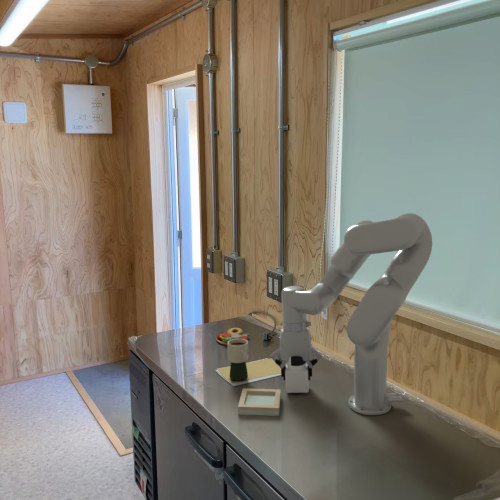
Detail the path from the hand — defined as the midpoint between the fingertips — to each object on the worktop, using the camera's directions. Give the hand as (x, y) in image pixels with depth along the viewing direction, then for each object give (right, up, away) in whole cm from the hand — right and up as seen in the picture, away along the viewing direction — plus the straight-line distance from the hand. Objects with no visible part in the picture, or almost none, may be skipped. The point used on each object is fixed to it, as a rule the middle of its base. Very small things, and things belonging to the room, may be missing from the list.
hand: (296, 378), depth 169 cm
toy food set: (-22, +4, +47) cm, 52 cm away
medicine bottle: (0, -4, +1) cm, 4 cm away
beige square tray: (-12, -6, -8) cm, 16 cm away
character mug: (-19, -3, +11) cm, 22 cm away
